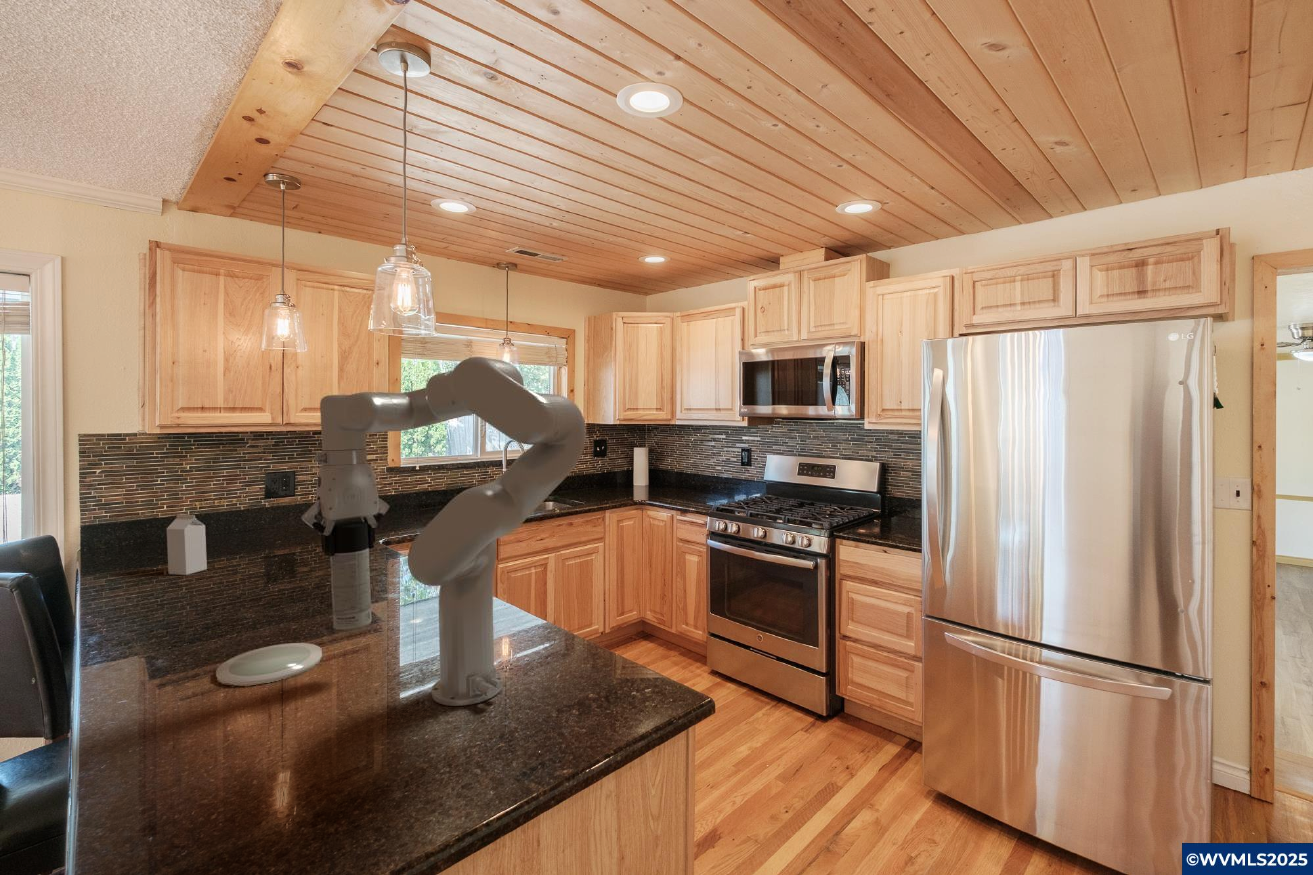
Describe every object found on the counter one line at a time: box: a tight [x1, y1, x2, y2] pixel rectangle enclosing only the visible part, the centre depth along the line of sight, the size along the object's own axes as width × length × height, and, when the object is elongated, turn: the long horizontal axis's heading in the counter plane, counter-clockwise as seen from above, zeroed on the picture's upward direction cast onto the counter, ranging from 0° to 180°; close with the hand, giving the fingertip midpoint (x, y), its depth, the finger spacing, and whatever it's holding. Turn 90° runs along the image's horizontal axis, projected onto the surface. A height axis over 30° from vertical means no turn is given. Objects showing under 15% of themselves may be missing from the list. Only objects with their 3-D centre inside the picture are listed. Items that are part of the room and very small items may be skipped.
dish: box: [215, 642, 323, 685], centre depth 119 cm, size 18×18×1 cm
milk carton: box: [166, 514, 208, 576], centre depth 192 cm, size 7×7×19 cm
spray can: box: [329, 520, 373, 632], centre depth 113 cm, size 7×7×20 cm
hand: (349, 550), depth 113 cm, fingers closed on spray can, 6 cm apart
